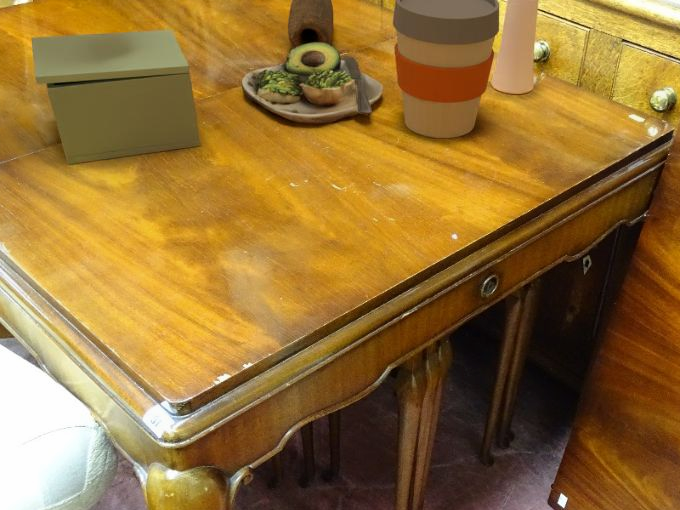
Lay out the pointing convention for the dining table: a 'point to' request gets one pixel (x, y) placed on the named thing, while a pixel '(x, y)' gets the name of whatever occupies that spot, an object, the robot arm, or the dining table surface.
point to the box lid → (107, 56)
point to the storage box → (124, 116)
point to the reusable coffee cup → (444, 62)
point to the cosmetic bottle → (517, 48)
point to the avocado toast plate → (313, 86)
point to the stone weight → (310, 22)
